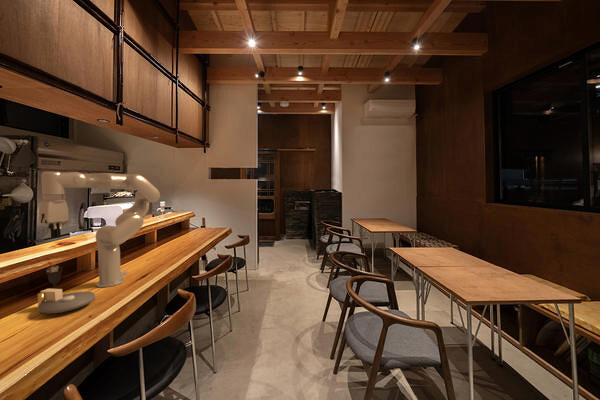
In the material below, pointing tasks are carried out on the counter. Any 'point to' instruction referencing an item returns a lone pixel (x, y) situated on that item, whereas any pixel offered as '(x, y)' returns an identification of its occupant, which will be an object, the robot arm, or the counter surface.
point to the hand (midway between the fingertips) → (55, 237)
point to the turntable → (64, 300)
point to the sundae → (54, 275)
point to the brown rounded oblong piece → (43, 300)
